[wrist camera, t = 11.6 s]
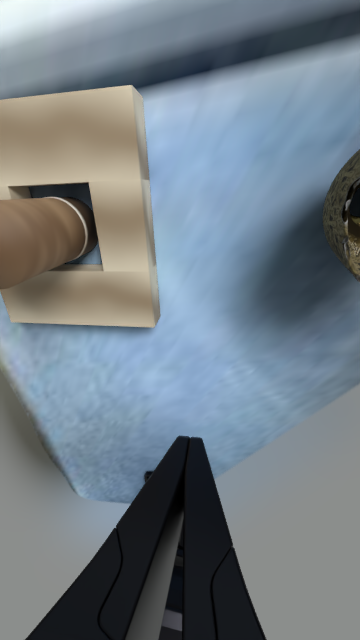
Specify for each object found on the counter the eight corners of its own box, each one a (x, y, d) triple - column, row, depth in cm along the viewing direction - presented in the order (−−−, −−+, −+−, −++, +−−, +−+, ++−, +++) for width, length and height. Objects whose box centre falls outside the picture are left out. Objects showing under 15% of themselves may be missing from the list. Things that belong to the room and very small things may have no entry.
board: (160, 316, 21) (154, 327, 20) (27, 312, 23) (11, 322, 21) (142, 97, 15) (131, 84, 13) (-36, 115, 17) (-66, 107, 15)
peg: (104, 255, 20) (36, 291, 13) (54, 255, 20) (-36, 289, 13) (94, 194, 18) (9, 198, 11) (40, 197, 19) (-73, 201, 12)
